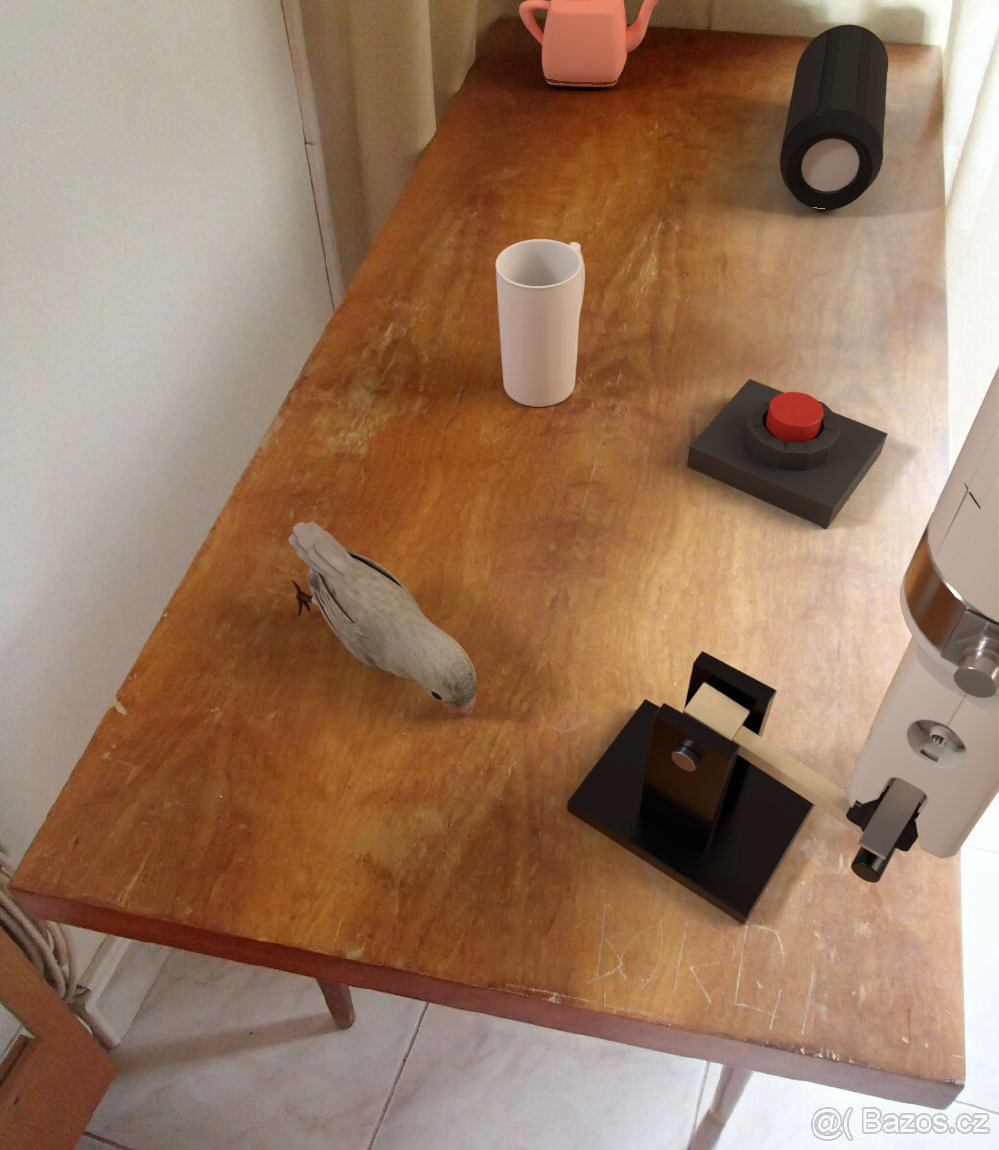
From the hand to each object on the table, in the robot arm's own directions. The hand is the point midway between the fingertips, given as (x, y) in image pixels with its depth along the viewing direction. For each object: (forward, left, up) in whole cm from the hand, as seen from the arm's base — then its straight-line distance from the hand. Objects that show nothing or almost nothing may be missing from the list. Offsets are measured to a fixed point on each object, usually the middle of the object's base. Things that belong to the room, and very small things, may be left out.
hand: (881, 823), depth 49 cm
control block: (+12, -34, -10) cm, 37 cm away
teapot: (+53, -93, -10) cm, 108 cm away
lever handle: (+5, -1, -1) cm, 5 cm away
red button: (+12, -34, -6) cm, 37 cm away
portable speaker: (+21, -83, -10) cm, 86 cm away
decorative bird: (+32, -4, -10) cm, 34 cm away
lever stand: (+9, -2, -10) cm, 13 cm away
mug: (+34, -36, -10) cm, 51 cm away
